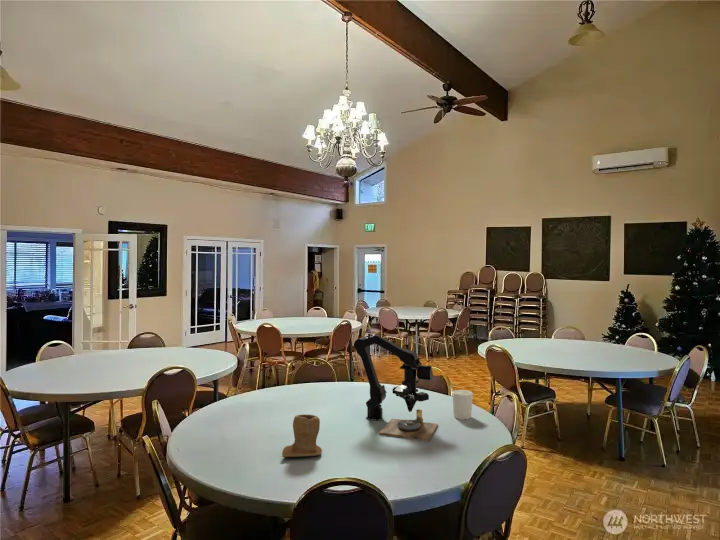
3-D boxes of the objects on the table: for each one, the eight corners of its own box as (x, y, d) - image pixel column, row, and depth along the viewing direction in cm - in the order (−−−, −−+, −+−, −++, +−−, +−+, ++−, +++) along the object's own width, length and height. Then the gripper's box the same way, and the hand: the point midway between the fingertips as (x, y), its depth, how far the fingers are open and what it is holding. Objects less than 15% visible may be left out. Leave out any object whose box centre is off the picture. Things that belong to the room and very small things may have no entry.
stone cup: (321, 447, 187) (321, 410, 187) (322, 459, 175) (322, 419, 175) (283, 449, 185) (283, 411, 185) (281, 461, 173) (281, 421, 173)
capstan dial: (412, 433, 199) (412, 419, 199) (393, 428, 206) (393, 414, 206) (430, 424, 210) (430, 411, 210) (412, 420, 217) (412, 407, 217)
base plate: (379, 434, 201) (379, 431, 201) (391, 420, 220) (391, 417, 220) (429, 441, 193) (429, 438, 193) (437, 425, 212) (437, 423, 212)
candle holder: (449, 418, 223) (449, 393, 223) (455, 412, 232) (455, 388, 232) (469, 421, 218) (469, 396, 218) (475, 415, 227) (475, 391, 227)
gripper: (384, 377, 219) (384, 410, 219) (412, 385, 205) (412, 420, 205) (400, 374, 226) (400, 405, 226) (429, 381, 212) (429, 415, 212)
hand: (410, 411), depth 217 cm, fingers closed
